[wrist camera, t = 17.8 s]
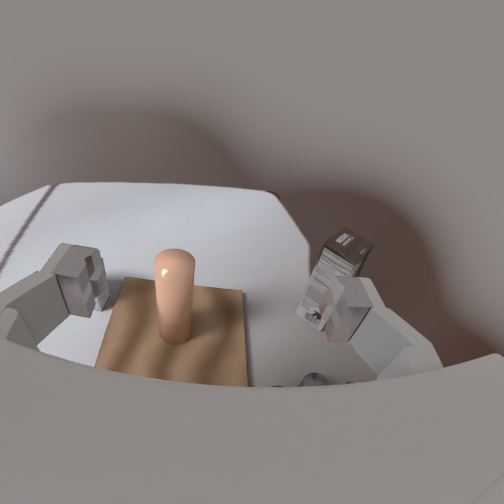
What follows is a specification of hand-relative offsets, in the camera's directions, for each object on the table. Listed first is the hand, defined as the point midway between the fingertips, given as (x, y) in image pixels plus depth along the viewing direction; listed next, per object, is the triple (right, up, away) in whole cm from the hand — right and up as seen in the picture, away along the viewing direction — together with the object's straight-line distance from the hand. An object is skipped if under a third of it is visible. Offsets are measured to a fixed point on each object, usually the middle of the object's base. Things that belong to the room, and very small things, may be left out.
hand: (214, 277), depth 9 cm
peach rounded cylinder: (-11, -11, +31) cm, 35 cm away
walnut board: (-11, -12, +32) cm, 36 cm away
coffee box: (+14, -11, +43) cm, 46 cm away
